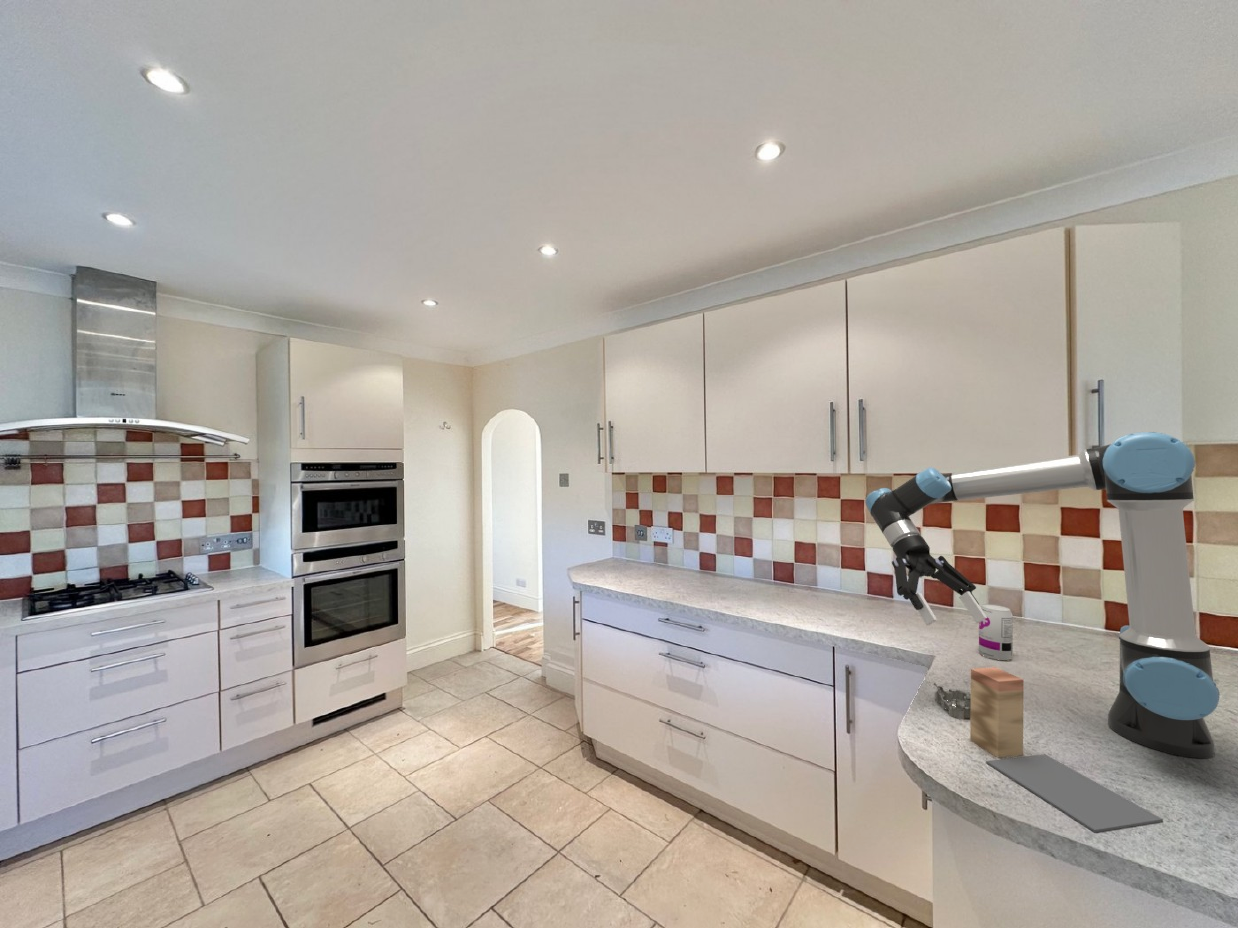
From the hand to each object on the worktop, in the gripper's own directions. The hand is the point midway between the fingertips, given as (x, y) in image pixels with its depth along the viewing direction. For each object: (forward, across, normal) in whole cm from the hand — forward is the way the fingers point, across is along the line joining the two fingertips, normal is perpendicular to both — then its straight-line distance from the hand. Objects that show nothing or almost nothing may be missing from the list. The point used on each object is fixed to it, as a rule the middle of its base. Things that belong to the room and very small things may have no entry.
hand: (957, 621), depth 107 cm
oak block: (+23, 0, -9) cm, 25 cm away
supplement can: (-5, -49, -38) cm, 62 cm away
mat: (+32, 0, 0) cm, 32 cm away
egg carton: (+13, -7, -20) cm, 25 cm away
